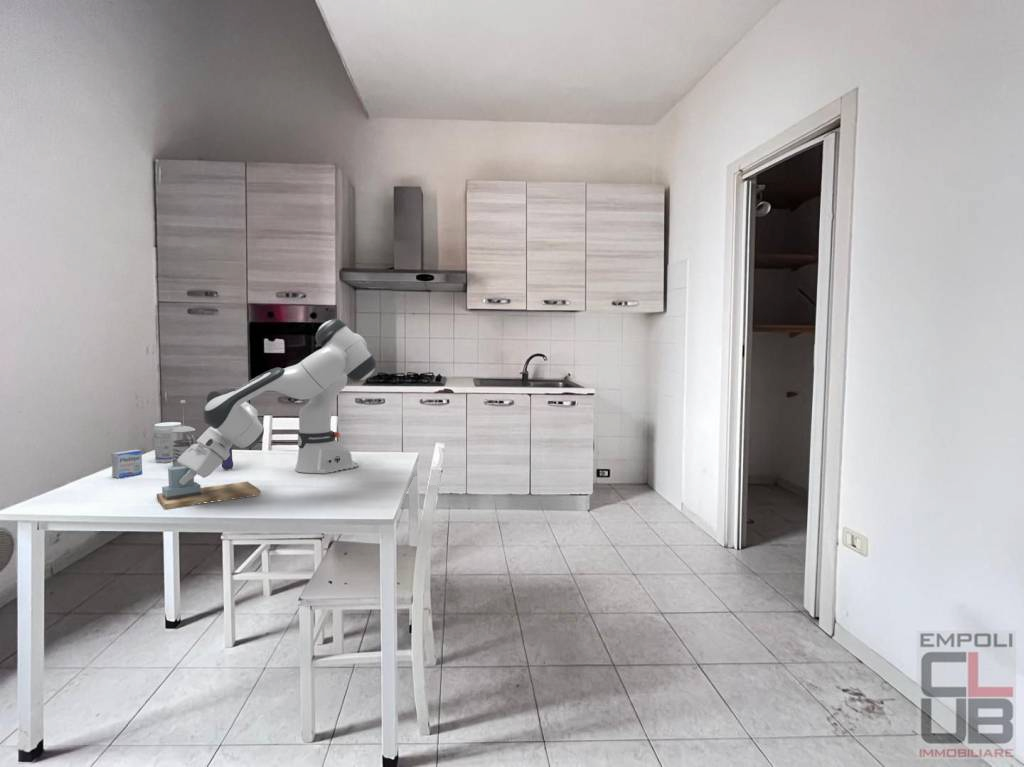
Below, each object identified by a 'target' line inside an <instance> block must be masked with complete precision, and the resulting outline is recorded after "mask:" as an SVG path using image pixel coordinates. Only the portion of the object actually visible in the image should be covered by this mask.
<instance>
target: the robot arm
mask: <svg viewBox="0 0 1024 767" xmlns="http://www.w3.org/2000/svg"><path fill="white" fill-rule="evenodd" d="M315 342H316V344H315V348H317V347H321V348H320V349H317V350H315V351H313V353H311V354H310V355H308V356H307V357H305V358H304V359H302V360H301V361H299V362H298V363H296V364H293V365H290V366H287V367H285V368H282V367H278V366H277V367H274V368H271V369H269V370H267V371H264V372H263V373H261V374H260V375H257V376H255V377H254V378H251V379H250V380H249V381H246V382H245V383H242V384H240V385H239V386H237V387H234V388H235V389H233V390H231V391H229V392H227V393H224V394H222V395H219V396H217V397H215V398H213V399H212V400H211V401H209V402H208V403H206V404H205V405H204V408H203V420H204V423H205V424H207V425H208V426H209V427H208V428H207V429H206V430H205V431H204V432H203V433H202V434H201V435H200V436H198V438H197V439H196V440H195V442H196V444H193V445H192V446H190V447H189V448H188V449H187V450H186V451H185V452H184V453H183V454H182V455H181V456H180V457H179V458H178V460H177V462H178V463H179V464H180V465H182V466H186V467H188V468H189V471H188V473H186V474H185V475H184V476H183V477H181V478H180V479H179V480H178V482H179V483H180V484H182V485H185V484H186V483H187V482H188V481H189V480H190V479H192V478H193V477H194V478H195V477H196V476H197V475H198V476H199V477H201V478H203V479H204V478H207V477H208V476H210V475H211V474H213V472H215V470H217V469H218V467H219V466H220V465H222V461H223V460H226V459H227V458H228V457H229V456H230V453H229V449H230V448H231V447H232V448H233V446H234V445H235V446H236V447H238V448H240V449H242V450H244V449H245V450H246V449H251V448H254V447H255V446H257V445H258V444H259V442H260V441H261V440H262V439H263V438H264V432H265V427H264V426H263V425H262V423H261V422H260V420H259V419H258V417H259V412H258V409H257V408H256V407H254V406H253V405H252V404H251V403H249V402H248V401H250V400H253V398H255V397H257V396H259V395H261V394H262V393H265V392H277V393H280V394H283V395H286V396H288V397H291V398H293V399H296V400H302V401H303V400H305V401H307V400H309V401H308V402H307V404H305V405H304V406H302V407H301V408H300V410H299V413H298V432H297V446H298V455H297V461H296V464H295V471H296V472H298V473H304V474H306V473H307V474H308V473H309V474H329V472H330V473H335V472H334V471H336V472H339V471H338V470H341V471H344V470H343V469H346V470H349V469H348V468H351V469H354V468H353V467H356V468H358V467H359V464H358V462H357V461H355V460H353V459H352V453H351V451H350V449H349V448H347V447H346V446H344V445H343V444H341V443H340V442H339V441H337V440H336V438H337V439H338V438H339V439H340V437H341V433H340V431H339V432H338V431H333V430H331V428H332V427H331V422H332V420H331V419H332V408H333V404H334V403H335V400H336V398H337V397H338V395H339V394H340V393H341V392H342V390H343V389H345V388H346V385H347V383H348V379H350V380H351V381H353V382H359V381H364V380H366V379H367V378H369V377H370V376H371V375H372V374H373V373H374V371H375V369H376V368H377V362H376V360H375V357H374V355H372V354H371V352H370V351H369V350H368V346H367V342H366V339H364V337H363V336H362V335H360V334H359V333H355V332H353V331H352V330H351V329H350V328H349V327H348V326H347V324H346V323H345V322H344V321H342V320H341V319H340V318H333V319H330V320H328V321H327V320H326V321H325V322H324V323H322V324H321V325H320V326H319V327H318V329H317V331H316V333H315ZM357 466H358V467H357Z"/></svg>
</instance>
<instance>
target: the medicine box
mask: <svg viewBox="0 0 1024 767" xmlns="http://www.w3.org/2000/svg"><path fill="white" fill-rule="evenodd" d="M142 451H143V450H140V449H130V450H122V451H116V452H111V472H112V473H111V475H112V477H113V478H116V479H119V478H120V479H125V477H126V478H131V477H135V475H136V476H141V475H140V474H142V475H143V457H142V455H143V454H142ZM130 476H131V477H130Z"/></svg>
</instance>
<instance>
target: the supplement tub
mask: <svg viewBox="0 0 1024 767" xmlns="http://www.w3.org/2000/svg"><path fill="white" fill-rule="evenodd" d="M182 424H183V423H181V422H179V421H178V422H177V421H169V422H168V421H166V422H159V423H155V424H154V426H153V437H154V438H153V439H154V453H155V454H154V455H155V457H154V458H155V462H157V463H158V462H159V463H158V464H170V463H169V462H175V461H173V451H172V446H173V445H175V444H176V443H174V441H176V440H184V435H183V433H172V432H171V431H172V430H173V429H175V428H177V427H180V426H183V425H182ZM174 451H175V450H174ZM174 455H175V454H174ZM174 458H175V457H174Z"/></svg>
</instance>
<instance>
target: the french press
mask: <svg viewBox="0 0 1024 767" xmlns="http://www.w3.org/2000/svg"><path fill="white" fill-rule="evenodd" d="M179 403H180V404H182V405H185V404H187V401H186V400H185V399H181V400H180V401H179ZM184 416H185V412H184V407H182V424H183V425H182V426H180V427H177V428H175V429H173V430H172V431H171V432H172V433H182V434H186V433H187V434H189V433H193V432H195V431H196V430H197V429H196V428H194V427H193V426H187V425H185V417H184ZM174 443H176V444H175V445H173V446H172V451H173V461H175V462H173V463H172V465H171V466H170V467H171V468H174V467H182V465H180V464H179V463H178V462H177V460H178V458H179V457H180V456H181V455H182V454H183V453H184V452H185V451H186V450H187V449H188V448H189V447H190V446H192V445H193V444H197V442H196V440H195V437H194V435H193V434H191V435H190V436H188V435H186V439H185V438H183V440H176V441H174ZM174 450H175V451H174ZM174 454H175V455H174ZM174 457H175V458H174Z"/></svg>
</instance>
